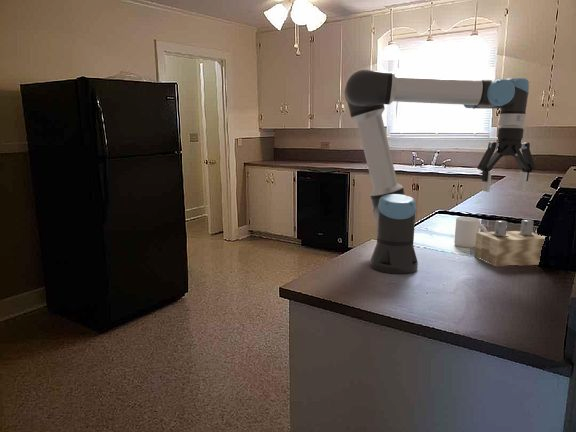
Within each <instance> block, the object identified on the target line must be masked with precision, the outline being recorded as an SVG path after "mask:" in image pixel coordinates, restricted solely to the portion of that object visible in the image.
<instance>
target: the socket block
mask: <svg viewBox="0 0 576 432" xmlns="http://www.w3.org/2000/svg"><path fill="white" fill-rule="evenodd" d="M494 232H495V231H487V232H485V231H479V232H477V233H476V243H475V247H474V254H473V255H474V258H476V257H478V258H481V259H483V260H485V261H487V262H489V263H491V264H492V265H491V264H490V265H491V266H493V265H494V266H493V267H495V266H496V267H503V266H502V265H516V264H521V265H520V266H539V262H540V256H541V250H542V246H543V244H544V241H545V237H546V236H545V235H542V234H539V233H535V232H533V231H532V236H526V237H525V236H522V235H520V232H521V230H506V237H496V236H494ZM538 234H539V235H538ZM541 235H542V236H541ZM478 258H477V259H478ZM485 261H484V262H485ZM487 262H486V263H487ZM489 263H488V264H489Z"/></svg>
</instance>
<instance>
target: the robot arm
mask: <svg viewBox="0 0 576 432" xmlns="http://www.w3.org/2000/svg"><path fill="white" fill-rule="evenodd" d="M529 83H530V81H529V80H528V78H523V77H514V78H511V77H510V78H497V79H495V80H494V79H474V78H454V77H452V78H451V77H432V76H430V77H428V76H407V75H396V74H395V73H394V72H393V71H381V70H373V69H360V70H357V71H355V72H354V73H353V74H352V73H351V75H350V77H349V78H348V79H347V81H346V85H345V87H344V98H345V101H346V103H347V106H348V111H349V115H350V119H351V120H354V121H355V122H356V124H357V128H358V133H359V136H360V140H361V144H362V149H363V153H364V157H365V161H366V165H367V169H368V173H369V177H370V181H371V185H372V190H371V192H370V193H369V195H370V200H371V203H372V204H371V205H372V208H373V210H372V211H373V215H374V217H375V219H376V220H377V228H376V229H377V230H376V231H377V233H376V244H375V246H374V249H373V251H372V255H371V257H370V262H369V263H370V265H369V266H370V267H371V268H372V269H373V270H376V271H378V272H381V273H387V274H393V275H394V274H396V275H403V274H404V275H405V274H412V273H414V272H417V270H418V268H419V267H418V265H419V263H418V259H417V255H416V254H417V253H416V251H415V248H414V239H415V238H414V237H415V227H416V226H415V225H416V213H417V204H416V203H417V202H416V200H415V199H414V197H412V196H409V195H406V193H405V189H404V186H403V185H402V184H401V183H399V182H398V180H397V175H396V171H395V167H394V162H393V159H392V158H393V157H392V152H391V150H390V145H389V140H388V137H387V133H386V128H385V124H384V120H383V113H384V111H385V105H391V104H392V103H393V102H397V103H416V104H417V103H419V104H420V103H423V104H443V105H447V104H448V105H461V106H462V105H463V107H464V108H466V109H474V110H475V109H486V110H487V109H490V110H491V109H492V110H493V109H496V110H497V109H498V110H499V109H500V111H499V119H498V121H499V122H498V126H499V128H497V129H498V130H497V142H496V141H489V142H488V146H487V149H486V151H485V152H484V154H483V157H482V158H481V160H480V161H479V163H478V166H477V170H479V171H481V172H482V174H481V176H482V177H481V181H482V182H483V184H482V191H483V192H487V193H490V190H491V182H492V174H493V173H492V172H491V170H492V169H493V168H494V167H495V165H496V164H497V163H498V162H499V161H500V159H501V158H503V157H504V156H505V157H509V156H510V157H511V156H512V157H513V158H514V160H515V161H516V163H517V164H518V166H519V167H520V169H521V171H519V174H518V175H519V176H518V183H517V184H518V185H517V191H518V192H526V187H527V182H528V181H529V177H530V173H531V172H532V171H535V170H536V166H535V163H534V159H533V157H532V152H531V150H530V147H531V144H530V142H522V140H523V138H524V130H525V129H524V128H522V127H524V126H525V121H526V110H527V104H528V97H529V91H530V84H529ZM520 149H521V150H520ZM495 150H496V151H495Z"/></svg>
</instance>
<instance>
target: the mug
mask: <svg viewBox="0 0 576 432" xmlns="http://www.w3.org/2000/svg"><path fill="white" fill-rule="evenodd" d="M454 229H455V230H454V231H455V232H454V241H453V243H454V245H455V246H457V247H460V248H466V249H472V248H474V249H475V243H476V233H477V232H480V230H483V232H488V229H487V228H486V226H484V224H482V223H481V219H480V218H477V217H470V216H458V217H456V218H455V228H454Z"/></svg>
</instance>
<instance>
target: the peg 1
mask: <svg viewBox="0 0 576 432" xmlns="http://www.w3.org/2000/svg"><path fill="white" fill-rule="evenodd" d="M507 228H508V221H506V220H495V223H494V231H493V232H494V236H496V237H506V231H507Z"/></svg>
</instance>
